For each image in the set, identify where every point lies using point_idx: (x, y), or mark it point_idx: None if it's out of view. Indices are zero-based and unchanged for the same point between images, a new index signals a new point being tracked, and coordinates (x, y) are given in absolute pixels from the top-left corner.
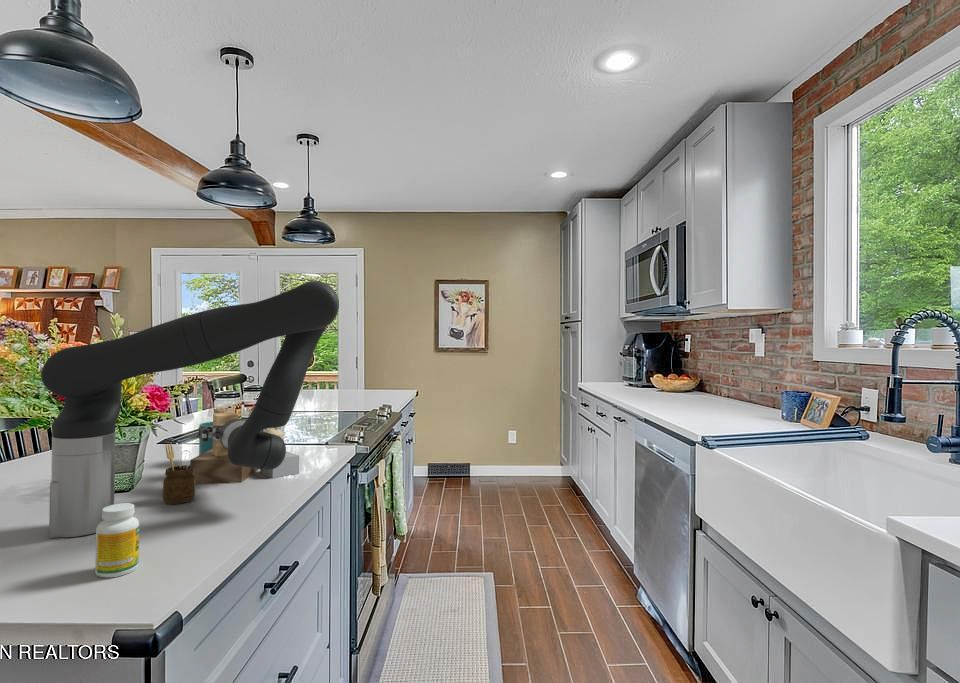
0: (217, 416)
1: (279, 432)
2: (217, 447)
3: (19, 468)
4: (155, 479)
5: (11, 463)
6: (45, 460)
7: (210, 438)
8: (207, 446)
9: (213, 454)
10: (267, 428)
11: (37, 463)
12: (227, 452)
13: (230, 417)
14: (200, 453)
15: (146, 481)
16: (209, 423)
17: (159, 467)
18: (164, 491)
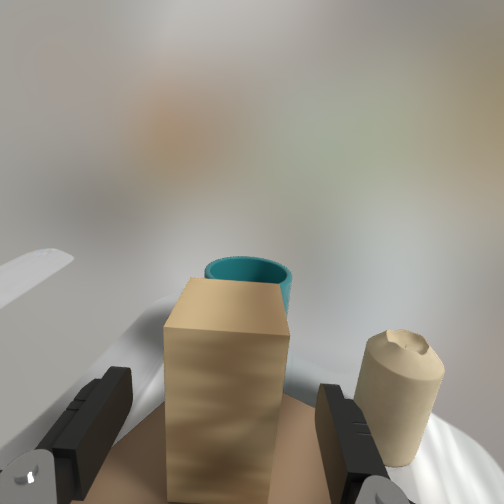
0: (168, 329)
1: (436, 367)
2: (172, 470)
3: (11, 266)
4: (48, 428)
5: (31, 252)
6: (64, 255)
7: None
8: None
9: None
10: (386, 330)
11: (46, 259)
12: (220, 494)
13: (243, 343)
14: None
15: (15, 437)
16: (236, 260)
17: (136, 335)
18: None
